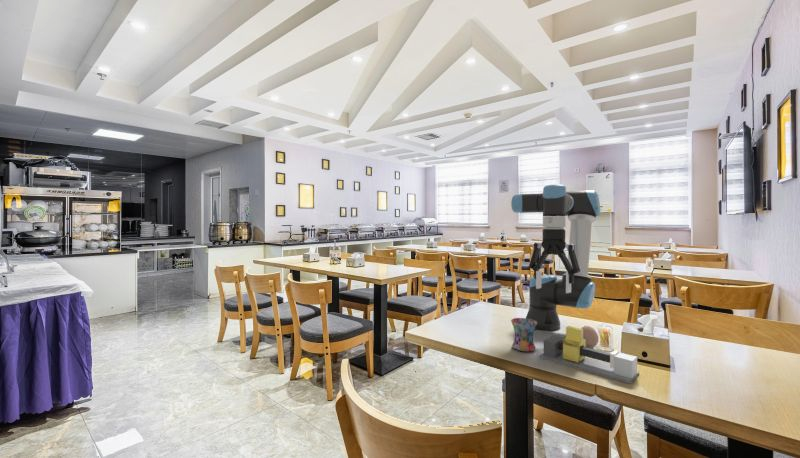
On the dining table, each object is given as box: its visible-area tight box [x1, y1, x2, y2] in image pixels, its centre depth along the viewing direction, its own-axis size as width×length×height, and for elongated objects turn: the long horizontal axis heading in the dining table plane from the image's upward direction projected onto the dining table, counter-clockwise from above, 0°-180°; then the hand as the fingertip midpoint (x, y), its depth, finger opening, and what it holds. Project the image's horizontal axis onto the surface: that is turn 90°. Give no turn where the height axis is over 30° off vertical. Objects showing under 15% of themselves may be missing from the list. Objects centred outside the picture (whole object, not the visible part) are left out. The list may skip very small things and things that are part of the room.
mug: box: [510, 317, 537, 352], centre depth 136 cm, size 12×9×11 cm
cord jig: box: [538, 335, 640, 384], centre depth 120 cm, size 10×28×7 cm, turn 43°
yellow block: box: [563, 325, 586, 362], centre depth 123 cm, size 6×5×10 cm
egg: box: [580, 325, 599, 349], centre depth 137 cm, size 7×7×8 cm
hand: (553, 290), depth 128 cm, fingers open, 10 cm apart
